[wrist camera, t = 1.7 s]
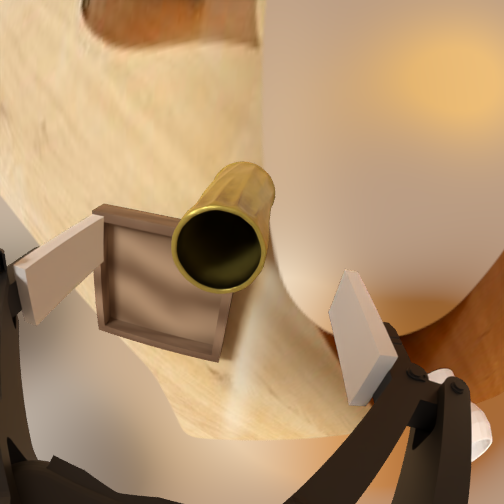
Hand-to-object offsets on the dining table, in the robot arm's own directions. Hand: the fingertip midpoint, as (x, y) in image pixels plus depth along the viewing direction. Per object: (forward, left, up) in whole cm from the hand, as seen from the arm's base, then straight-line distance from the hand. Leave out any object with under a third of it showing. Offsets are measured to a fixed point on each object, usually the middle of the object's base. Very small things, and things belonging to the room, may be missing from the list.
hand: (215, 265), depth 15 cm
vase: (0, 0, -15) cm, 15 cm away
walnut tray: (+12, -7, -15) cm, 20 cm away
